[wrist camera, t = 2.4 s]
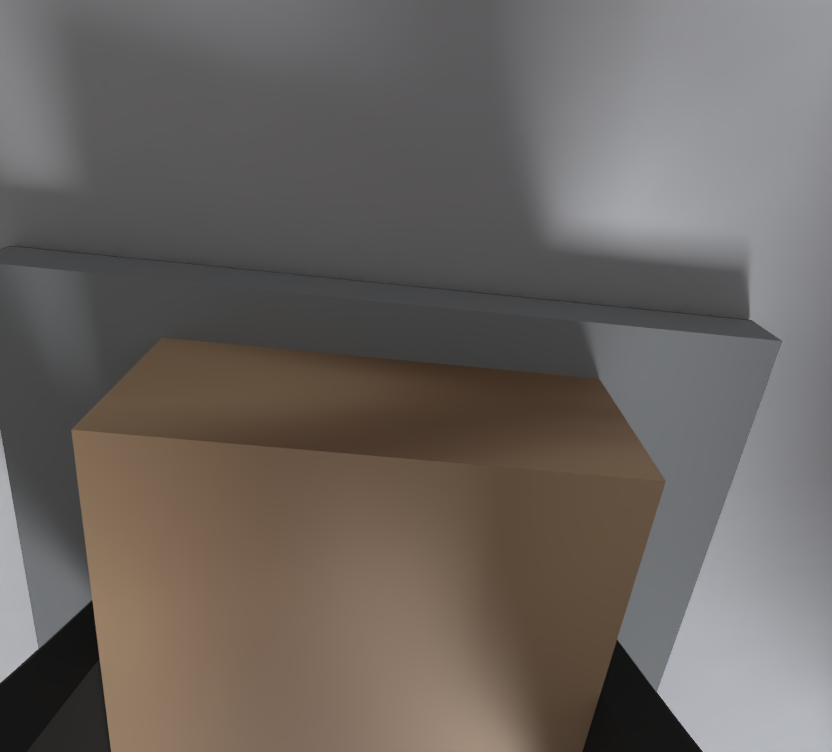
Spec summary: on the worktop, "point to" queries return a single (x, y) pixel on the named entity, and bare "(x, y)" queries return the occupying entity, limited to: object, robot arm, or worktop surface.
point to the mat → (380, 338)
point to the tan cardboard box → (356, 551)
